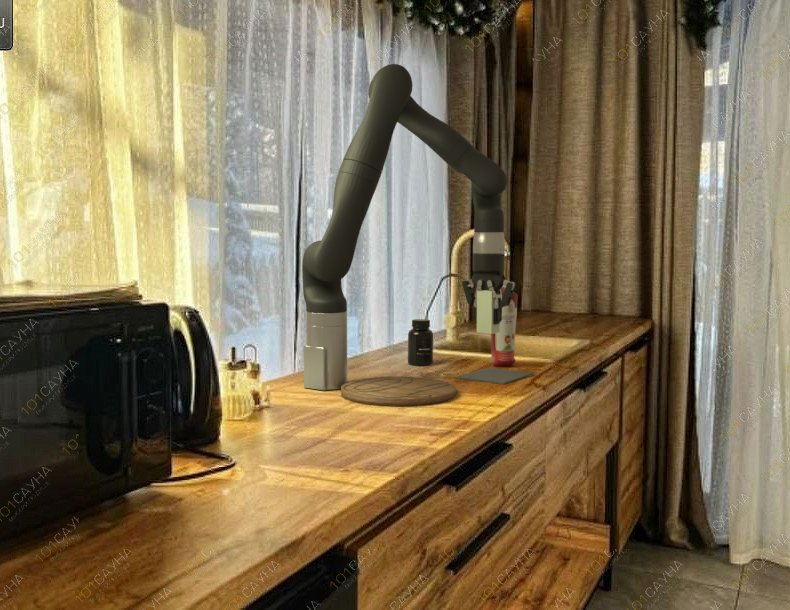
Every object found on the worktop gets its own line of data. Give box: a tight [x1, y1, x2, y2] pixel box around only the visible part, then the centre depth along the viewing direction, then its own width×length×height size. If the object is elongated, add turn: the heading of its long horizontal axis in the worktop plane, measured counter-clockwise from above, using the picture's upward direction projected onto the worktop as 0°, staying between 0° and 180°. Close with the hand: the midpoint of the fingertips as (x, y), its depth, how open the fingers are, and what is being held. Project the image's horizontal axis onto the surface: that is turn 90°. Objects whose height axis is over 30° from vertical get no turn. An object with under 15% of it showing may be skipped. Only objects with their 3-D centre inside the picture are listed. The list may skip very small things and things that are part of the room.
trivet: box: [340, 375, 457, 408], centre depth 164 cm, size 25×25×2 cm
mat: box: [455, 367, 535, 385], centre depth 185 cm, size 16×13×1 cm
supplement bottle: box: [407, 318, 434, 367], centre depth 203 cm, size 7×7×12 cm
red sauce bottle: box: [489, 259, 519, 368], centre depth 200 cm, size 7×7×28 cm
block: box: [476, 290, 500, 335], centre depth 181 cm, size 4×4×10 cm
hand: (488, 323), depth 181 cm, fingers closed on block, 4 cm apart
